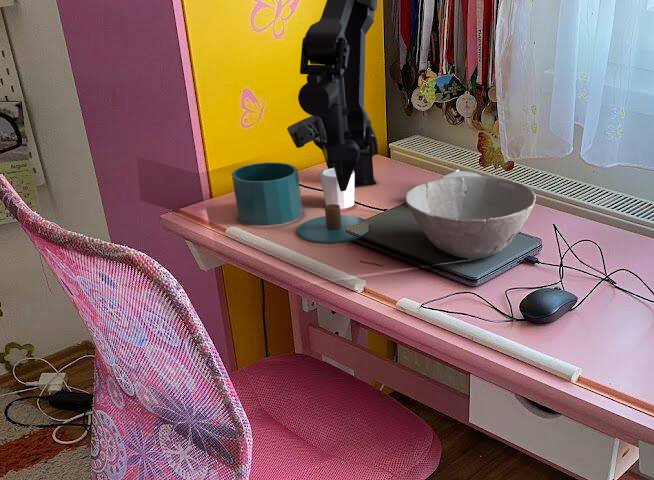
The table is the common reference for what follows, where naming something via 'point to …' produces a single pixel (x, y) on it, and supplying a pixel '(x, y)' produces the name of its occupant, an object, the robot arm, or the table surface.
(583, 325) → the table surface
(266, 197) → the canister
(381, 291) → the table surface
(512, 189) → the ceramic bowl
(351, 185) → the shot glass
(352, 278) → the table surface
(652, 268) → the table surface
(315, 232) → the lid
